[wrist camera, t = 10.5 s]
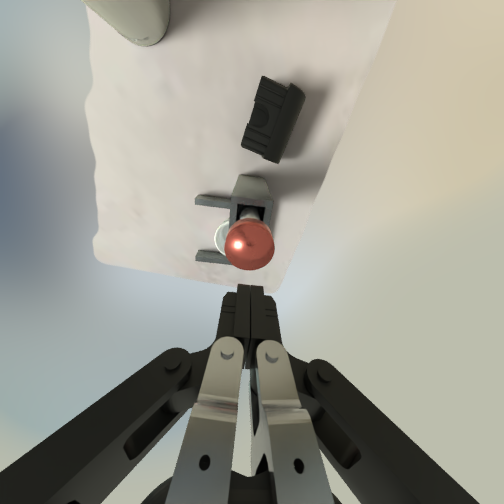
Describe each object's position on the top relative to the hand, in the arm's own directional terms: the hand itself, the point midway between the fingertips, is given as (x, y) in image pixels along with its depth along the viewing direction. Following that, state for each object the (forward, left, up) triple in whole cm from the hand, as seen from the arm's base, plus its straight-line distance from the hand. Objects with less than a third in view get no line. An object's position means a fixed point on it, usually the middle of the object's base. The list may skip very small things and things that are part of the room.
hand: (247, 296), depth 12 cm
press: (+7, -3, -32) cm, 33 cm away
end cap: (-11, +2, -32) cm, 34 cm away
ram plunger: (0, 0, -17) cm, 17 cm away
